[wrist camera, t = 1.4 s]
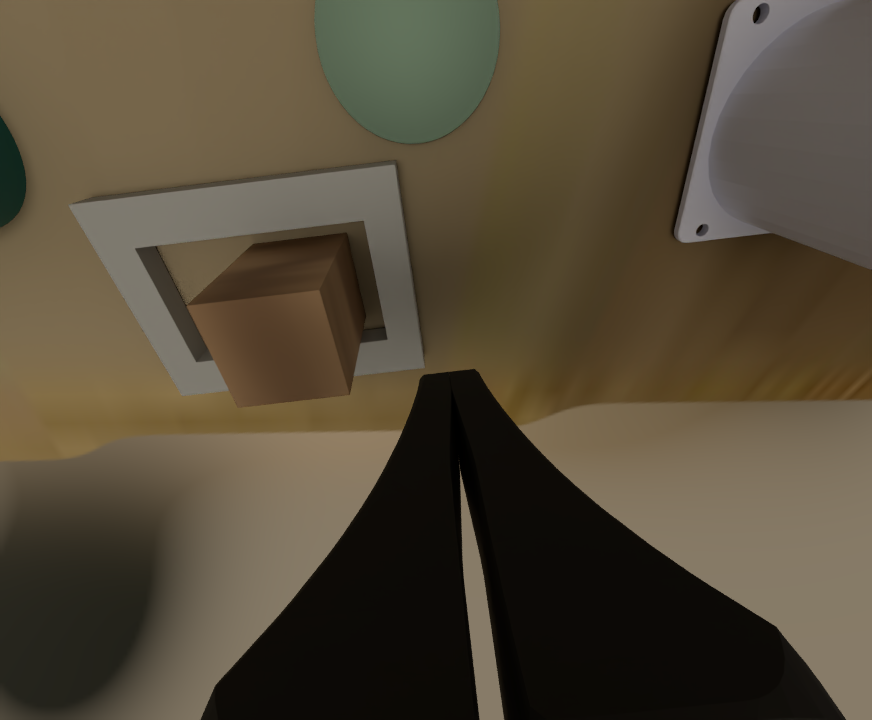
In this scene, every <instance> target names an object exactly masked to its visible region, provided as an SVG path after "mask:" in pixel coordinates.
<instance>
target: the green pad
mask: <svg viewBox="0 0 872 720" xmlns="http://www.w3.org/2000/svg"><path fill="white" fill-rule="evenodd" d="M315 36H316V42H317V48H318V53H319V57H320V61H321V64H322V67H323V70H324V73H325V75H326V78H327V80H328V82H329V84H330V86H331V88H332V90H333V92H334V94H335V95H336V97H337V98H338V100H339V102H340V103H341V105H342V106H343V107H344V108H345V109H346V111H347V112H348V113H349V114H350V115H351V116H352V117H353V118H354V119H355V120H356V121H357V122H358V123H359V124H361V125H362V126H363V127H364V128H366V129H367V130H369V131H370V132H372V133H374V134H376V135H377V136H380V137H382V138H384V139H387V140H390V141H394V142H398V143H407V144H415V143H424V142H429V141H433V140H435V139H438V138H441V137H443V136H445V135H447V134H448V133H450V132H452V131H453V130H455V129H456V128H457V127H459V126H460V125H461V124H462V123H463V122H464V121H465V120H466V119H467V118H468V117H469V116H470V115H471V114H472V113H473V111H474V110H475V109H476V108H477V106H478V104H479V103H480V101H481V100H482V98H483V96H484V94H485V92H486V90H487V88H488V86H489V84H490V81H491V78H492V76H493V73H494V69H495V65H496V61H497V56H498V49H499V40H500V20H499V9H498V3H497V0H316V2H315Z"/></svg>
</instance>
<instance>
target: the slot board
mask: <svg viewBox="0 0 872 720" xmlns="http://www.w3.org/2000/svg"><path fill="white" fill-rule="evenodd" d="M68 206H69V207H70V209H71V211H72V212H73V214H74V216H75V217H76V219H77V221H78V222H79V224H80V226H81V227H82V229H83V231H84V232H85V234H86V236H87V237H88V239H89V241H90V242H91V244H92V246H93V247H94V249H95V251H96V252H97V254H98V256H99V257H100V259H101V261H102V262H103V264H104V266H105V268H106V269H107V271H108V273H109V274H110V276H111V278H112V279H113V281H114V283H115V284H116V286H117V288H118V289H119V291H120V293H121V294H122V296H123V298H124V299H125V301H126V303H127V304H128V306H129V308H130V309H131V311H132V313H133V314H134V316H135V318H136V319H137V321H138V323H139V324H140V326H141V328H142V329H143V331H144V333H145V334H146V336H147V338H148V339H149V341H150V343H151V345H152V346H153V348H154V350H155V351H156V353H157V355H158V356H159V358H160V360H161V361H162V363H163V365H164V366H165V368H166V370H167V371H168V373H169V375H170V376H171V378H172V380H173V381H174V383H175V385H176V386H177V388H178V390H179V391H180V393H181V395H182V396H186V395H195V394H204V393H212V392H221V391H229V389H228V387H227V385H226V383H225V381H224V379H223V377H222V375H221V373H220V371H219V369H218V367H217V366H216V364H215V362H214V360H213V358H212V356H211V354H210V352H209V350H208V349H207V347H206V345H205V343H204V341H203V339H202V338H201V336H200V334H199V332H198V330H197V328H196V326H195V324H194V322H193V320H192V318H191V316H190V314H189V312H188V310H187V308H186V306H185V304H184V302H183V300H182V298H181V296H180V294H179V292H178V290H177V288H176V286H175V284H174V282H173V280H172V278H171V276H170V275H169V273H168V271H167V269H166V267H165V265H164V263H163V261H162V259H161V257H160V255H159V253H158V251H157V249H156V247H155V246H159V245H167V244H175V243H184V242H192V241H200V240H208V239H217V238H225V237H233V236H241V235H249V234H258V233H266V232H274V231H282V230H291V229H299V228H307V227H315V226H324V225H332V224H340V223H348V222H357V221H364V224H365V229H366V234H367V239H368V244H369V249H370V254H371V259H372V264H373V269H374V274H375V279H376V284H377V289H378V294H379V299H380V304H381V308H382V313H383V318H384V323H385V328H379V329H371V330H363V333H362V338H361V343H360V348H359V352H358V357H357V362H356V367H355V372H354V376H359V375H368V374H376V373H385V372H393V371H402V370H411V369H419V368H425V364H424V351H423V344H422V337H421V330H420V323H419V316H418V309H417V303H416V296H415V289H414V282H413V275H412V268H411V261H410V254H409V247H408V240H407V233H406V227H405V220H404V213H403V206H402V199H401V192H400V185H399V178H398V171H397V164H396V160H393V161H385V162H377V163H369V164H360V165H352V166H344V167H336V168H328V169H320V170H312V171H304V172H296V173H288V174H279V175H271V176H263V177H255V178H247V179H239V180H231V181H223V182H215V183H207V184H198V185H190V186H182V187H174V188H166V189H158V190H150V191H142V192H134V193H126V194H117V195H109V196H101V197H93V198H88V199H85V200H82V201H79V202H75V203H72V204H69V205H68Z"/></svg>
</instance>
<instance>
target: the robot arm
mask: <svg viewBox="0 0 872 720" xmlns="http://www.w3.org/2000/svg"><path fill="white" fill-rule="evenodd" d="M758 6H759V8H760V9H761V11H760V16H759V19H758V20H757V22H756V23H755V24H754V22H753V20H752V18H753V13H754V11H755V9H756V8H757V7H758ZM702 224H703V228H702V230H701V231H700V232H699V233H696V230H697V228H698V227H699V226H700V225H702ZM766 233H774V234H777V235H780V236H782V237H785V238H788V239H790V240H793V241H796V242H798V243H801V244H804V245H806V246H809V247H812V248H814V249H817V250H820V251H822V252H825V253H828V254H830V255H833V256H836V257H838V258H841V259H844V260H846V261H849V262H852V263H854V264H857V265H860V266H862V267H865V268H868V269H871V270H872V0H736V1H735V2H734V3H732V4H731V5H730V7H729V8H728V10H727V11H726V13H725V16H724V18H723V22H722V26H721V31H720V35H719V39H718V44H717V48H716V52H715V57H714V61H713V65H712V70H711V74H710V78H709V83H708V87H707V91H706V96H705V100H704V104H703V108H702V113H701V117H700V121H699V126H698V130H697V134H696V139H695V143H694V147H693V152H692V156H691V160H690V165H689V169H688V173H687V178H686V182H685V186H684V191H683V195H682V199H681V204H680V208H679V212H678V217H677V221H676V225H675V229H674V236H675V238H676V239H677V240H679V241H681V242H683V243H690V242H699V241H707V240H715V239H724V238H732V237H741V236H749V235H757V234H766ZM449 376H450V377H449ZM459 464H460V467H459ZM460 471H461V476H462V480H463V484H464V489H465V493H466V497H467V501H468V506H469V510H470V514H471V518H472V523H473V528H474V532H475V536H476V540H477V545H478V549H479V554H480V558H481V564H482V569H483V574H484V580H485V587H486V594H487V601H488V608H489V614H490V622H491V628H492V636H493V642H494V650H495V657H496V664H497V671H498V678H499V685H500V692H501V699H502V707H503V714H504V720H846V719H845V717H844V716H843V714H842V713H841V712H840V710H839V709H838V707H837V706H836V704H835V703H834V702H833V700H832V699H831V697H830V696H829V695H828V693H827V692H826V690H825V689H824V687H823V686H822V684H821V683H820V681H819V680H818V679H817V678H816V676H815V675H814V674H813V672H812V671H811V670H810V668H809V667H808V665H807V664H806V663H805V662H804V660H803V659H802V658H801V657H800V656H799V655H798V653H797V652H796V651H795V650H794V648H793V647H792V646H791V645H790V644H789V643H788V641H787V640H786V639H785V638H784V636H783V635H782V634H781V632H780V631H779V630H778V629H777V627H776V626H774V625H772V624H771V623H769V622H768V621H766V620H764V619H763V618H761V617H760V616H758V615H756V614H755V613H753V612H752V611H750V610H748V609H747V608H745V607H744V606H742V605H740V604H739V603H737V602H736V601H734V600H732V599H731V598H729V597H728V596H726V595H724V594H723V593H721V592H719V591H718V590H716V589H715V588H713V587H711V586H710V585H708V584H707V583H705V582H704V581H702V580H701V579H699V578H698V577H696V576H694V575H693V574H691V573H690V572H688V571H687V570H686V569H684V568H683V567H681V566H680V565H678V564H677V563H675V562H674V561H673V560H671V559H670V558H668V557H667V556H665V555H664V554H662V553H661V552H660V551H658V550H657V549H655V548H654V547H652V546H651V545H650V544H648V543H647V542H646V541H644V540H643V539H642V538H640V537H639V536H638V535H637V534H635V533H634V532H633V531H631V530H630V529H629V528H627V527H626V526H625V525H623V524H622V523H621V522H620V521H618V520H617V519H616V518H614V517H613V516H612V515H610V514H609V513H608V512H606V511H605V510H604V509H603V508H601V507H600V506H599V505H598V504H596V503H595V502H594V501H593V500H592V499H591V498H589V497H588V496H587V495H586V494H584V492H582V491H581V490H580V489H579V488H578V487H577V486H575V485H574V484H573V483H572V482H571V481H570V480H569V479H568V478H567V477H565V476H564V475H563V474H562V473H561V472H560V471H559V470H558V469H556V467H555V466H554V465H553V464H552V463H551V462H550V461H549V460H548V459H547V458H546V457H545V456H544V455H543V454H542V453H541V452H540V451H539V450H538V449H537V448H536V447H535V446H534V445H533V444H532V443H531V441H530V440H529V439H528V438H527V437H526V436H525V435H524V434H523V433H522V431H521V430H520V429H519V428H518V427H517V426H516V424H515V423H514V422H513V421H512V419H511V418H510V417H509V416H508V415H507V413H506V412H505V411H504V410H503V408H502V407H501V406H500V404H499V403H498V402H497V400H496V399H495V398H494V396H493V395H492V393H491V392H490V390H489V389H488V387H487V386H486V384H485V383H484V381H483V379H482V378H481V376H480V374H479V372H477V371H476V370H475V369H470V370H462V371H453V372H444V373H436V374H427V375H423V376H422V377H421V378H420V381H419V386H418V390H417V394H416V397H415V400H414V403H413V406H412V409H411V412H410V414H409V417H408V419H407V422H406V424H405V426H404V429H403V431H402V434H401V436H400V438H399V440H398V443H397V445H396V447H395V449H394V450H393V452H392V455H391V456H390V458H389V460H388V462H387V465H386V467H385V468H384V470H383V472H382V474H381V476H380V477H379V479H378V481H377V483H376V485H375V486H374V488H373V489H372V491H371V493H370V494H369V496H368V498H367V499H366V501H365V502H364V504H363V506H362V507H361V509H360V510H359V512H358V513H357V515H356V516H355V518H354V519H353V521H352V522H351V523H350V525H349V527H348V528H347V529H346V531H345V532H344V534H343V535H342V537H341V538H340V539H339V541H338V542H337V544H336V545H335V546H334V548H333V549H332V550H331V552H330V553H329V554H328V556H327V557H326V558H325V560H324V561H323V562H322V563H321V565H320V566H319V567H318V568H317V570H316V571H315V572H314V573H313V574H312V576H311V577H310V578H309V579H308V581H307V582H306V583H305V584H304V586H303V587H302V588H301V589H300V591H299V592H298V593H297V594H296V596H295V597H294V598H293V599H292V601H291V602H290V603H289V604H288V605H287V607H286V608H285V609H284V610H283V611H282V612H281V614H280V615H279V616H278V617H277V618H276V619H275V620H274V622H273V623H272V624H271V625H270V626H269V627H268V628H267V629H266V630H265V632H264V633H263V634H262V635H261V636H260V637H259V638H258V639H257V640H256V641H255V642H254V644H253V645H252V646H251V647H250V648H249V649H248V650H247V651H246V653H245V654H244V655H243V656H242V657H241V658H240V659H239V660H238V661H237V662H236V663H235V665H234V666H233V667H232V668H231V669H230V670H229V671H228V672H227V673H226V674H225V675H224V677H223V678H222V679H221V680H220V681H219V682H218V683H217V684H216V686H215V687H214V690H213V692H212V694H211V697H210V699H209V701H208V704H207V706H206V708H205V711H204V713H203V716H202V718H201V720H479V712H478V703H477V694H476V685H475V676H474V667H473V659H472V649H471V640H470V631H469V622H468V613H467V604H466V595H465V587H464V576H463V561H462V533H461V532H462V531H461V530H462V529H461V496H460V495H461V494H460Z"/></svg>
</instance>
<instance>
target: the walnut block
mask: <svg viewBox="0 0 872 720" xmlns="http://www.w3.org/2000/svg"><path fill="white" fill-rule="evenodd" d="M187 308H188V310H189V312H190V314H191V316H192V318H193V320H194V322H195V324H196V326H197V328H198V330H199V332H200V334H201V336H202V338H203V340H204V342H205V344H206V346H207V348H208V350H209V352H210V354H211V356H212V358H213V360H214V362H215V364H216V366H217V367H218V369H219V371H220V373H221V375H222V377H223V379H224V381H225V383H226V385H227V387H228V389H229V391H230V393H231V395H232V397H233V399H234V401H235V403H236V405H237V407H238V408H240V407H249V406H257V405H266V404H275V403H283V402H292V401H301V400H309V399H318V398H327V397H335V396H344V395H350V391H351V386H352V381H353V377H354V372H355V367H356V362H357V357H358V352H359V348H360V343H361V338H362V333H363V328H364V323H365V319H366V315H365V310H364V306H363V302H362V297H361V293H360V289H359V284H358V280H357V275H356V271H355V267H354V262H353V258H352V254H351V249H350V245H349V240H348V236H347V233H340V234H332V235H324V236H315V237H307V238H299V239H291V240H282V241H274V242H266V243H258V244H253V245H252V246H251V247H250V248H248V249H247V250H246V251H245V252H244V253H243V254H242V255H241V256H240V257H239V258H238V259H237V260H235V261H234V262H233V263H232V264H231V265H230V266H229V267H228V268H227V269H226V270H225V271H224V272H222V273H221V274H220V275H219V276H218V277H217V278H216V279H215V280H214V281H213V282H212V283H211V284H209V285H208V286H207V287H206V288H205V289H204V290H203V291H202V292H201V293H200V294H199V295H198V296H197V297H195V298H194V299H193V300H192V301H191V302H190V303H189V304H188V305H187Z"/></svg>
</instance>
